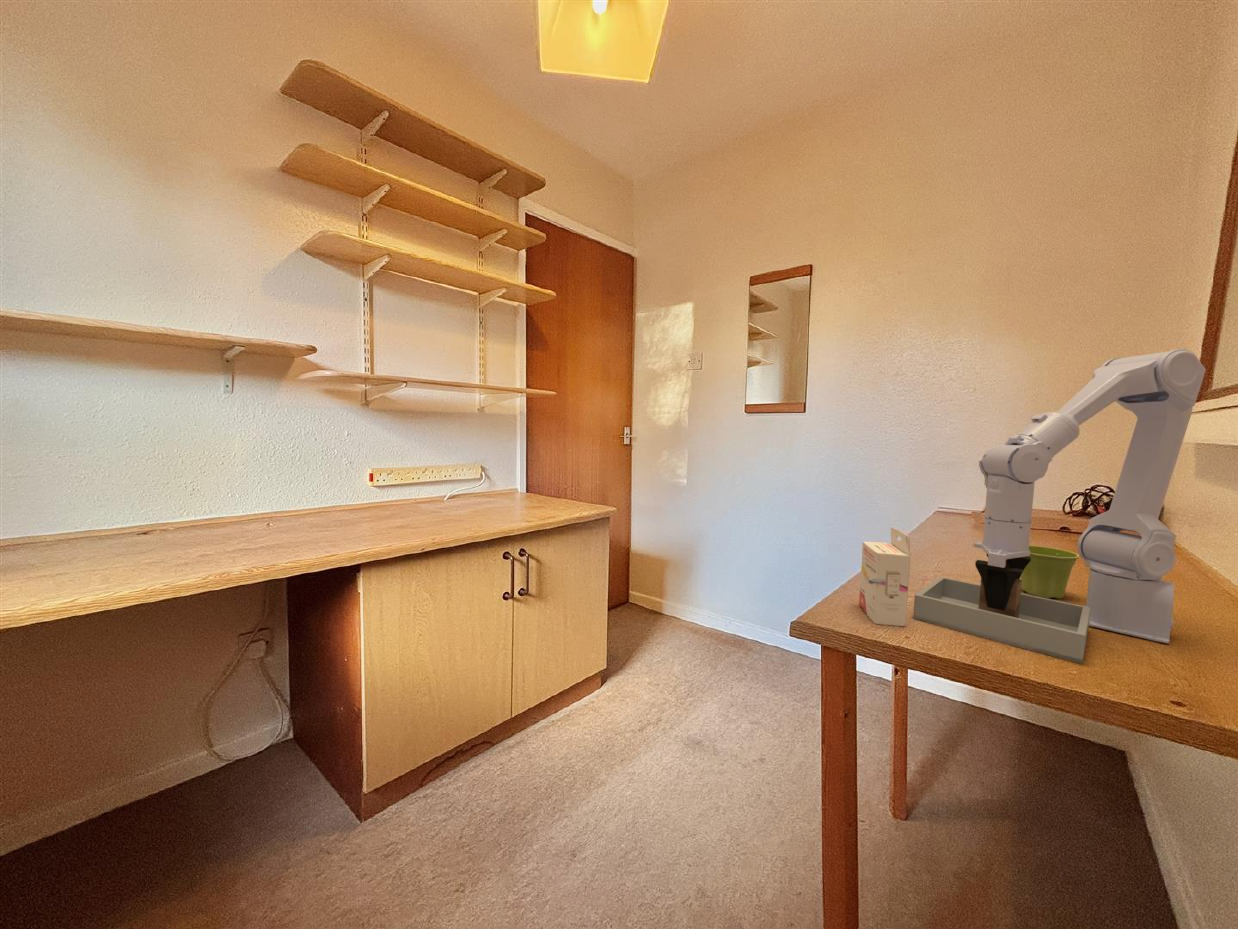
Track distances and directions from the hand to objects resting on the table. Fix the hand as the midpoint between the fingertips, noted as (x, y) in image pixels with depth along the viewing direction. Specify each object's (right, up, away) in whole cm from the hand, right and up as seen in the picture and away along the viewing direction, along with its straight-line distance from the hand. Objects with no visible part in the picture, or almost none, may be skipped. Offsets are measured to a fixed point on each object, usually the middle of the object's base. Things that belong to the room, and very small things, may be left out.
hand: (1000, 602), depth 75 cm
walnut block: (0, -3, 0) cm, 3 cm away
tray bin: (0, -4, 0) cm, 4 cm away
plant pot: (+22, -3, +16) cm, 27 cm away
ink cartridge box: (-18, -3, +3) cm, 18 cm away
